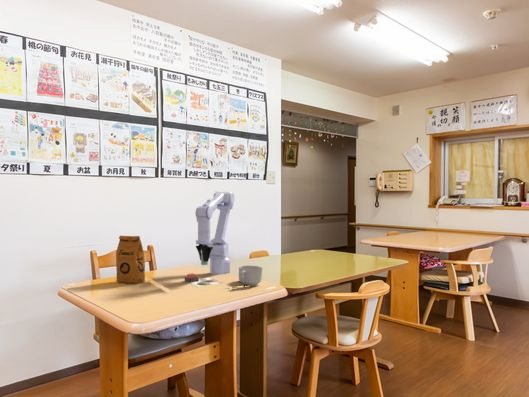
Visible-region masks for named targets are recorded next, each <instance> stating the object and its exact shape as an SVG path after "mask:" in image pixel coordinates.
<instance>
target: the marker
mask: <svg viewBox="0 0 529 397" xmlns="http://www.w3.org/2000/svg"><path fill="white" fill-rule="evenodd" d="M200 264H201V265H202V266H206V265H208V264H209V260H208V261H207V262H204V261H203V254H202V250H201V260H200Z"/></svg>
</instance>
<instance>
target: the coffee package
mask: <svg viewBox="0 0 529 397" xmlns="http://www.w3.org/2000/svg"><path fill="white" fill-rule="evenodd" d="M118 239H119V240H118V244H117V249H116V251H115V266H116V267H115V268H116V282H117V283H123V284H129V285H131V284H134V285H138V284H141V283H144V282H146V279H145V278H146V263H145V262H146V261H145V252H144V249H143V248H144V247H143V245H142V241H141V237H140V235H133V236H132V235H119V237H118Z"/></svg>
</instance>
